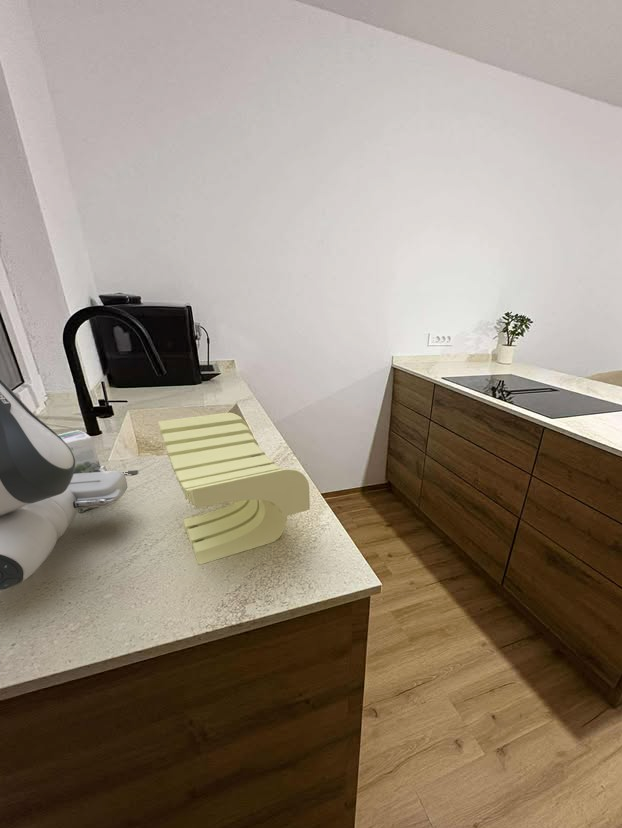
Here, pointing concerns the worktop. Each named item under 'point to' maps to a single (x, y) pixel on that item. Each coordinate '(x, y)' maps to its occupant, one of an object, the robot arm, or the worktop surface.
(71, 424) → the worktop surface
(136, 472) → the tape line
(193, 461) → the slatted curved stool
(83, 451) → the syrup box
